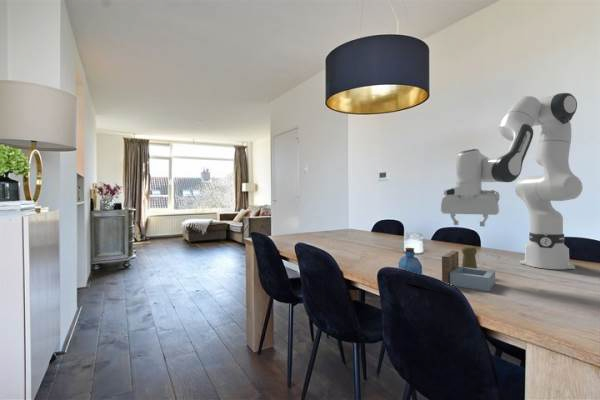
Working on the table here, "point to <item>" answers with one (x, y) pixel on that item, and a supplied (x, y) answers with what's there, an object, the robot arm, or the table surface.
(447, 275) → the wall
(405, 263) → the perfume bottle
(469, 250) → the cork
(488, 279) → the socket block
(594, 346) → the table surface
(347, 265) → the table surface
